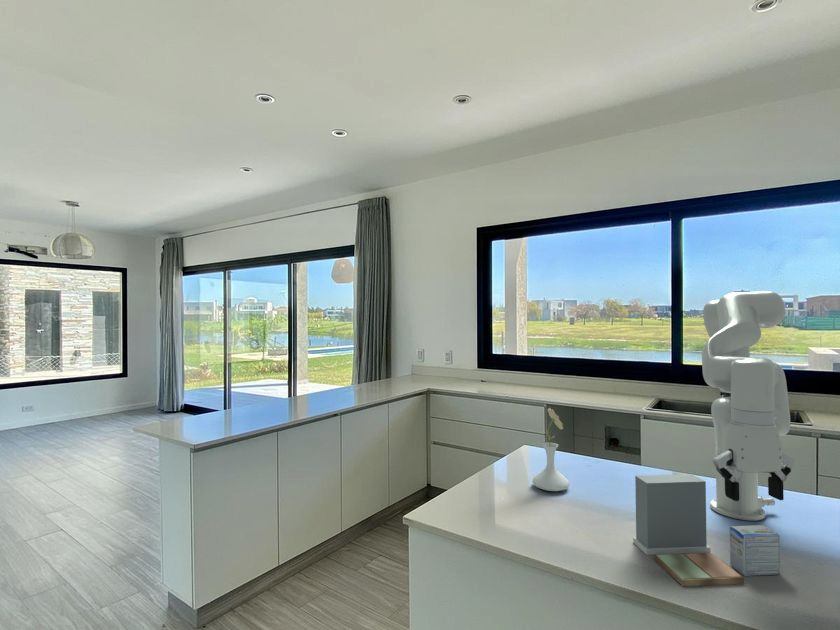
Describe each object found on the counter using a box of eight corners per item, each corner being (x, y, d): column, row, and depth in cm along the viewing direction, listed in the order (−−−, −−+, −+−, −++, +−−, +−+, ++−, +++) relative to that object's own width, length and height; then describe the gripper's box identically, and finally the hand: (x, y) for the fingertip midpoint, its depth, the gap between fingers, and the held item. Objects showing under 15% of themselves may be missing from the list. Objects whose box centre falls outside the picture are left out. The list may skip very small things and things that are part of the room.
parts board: (710, 557, 102) (709, 551, 102) (744, 583, 92) (744, 577, 92) (654, 559, 101) (654, 553, 101) (682, 586, 91) (682, 579, 91)
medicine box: (764, 564, 99) (763, 524, 99) (781, 575, 94) (780, 534, 94) (729, 565, 99) (728, 525, 99) (744, 576, 94) (744, 535, 94)
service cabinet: (693, 539, 110) (692, 473, 110) (710, 552, 104) (709, 482, 104) (633, 542, 109) (632, 475, 109) (646, 555, 103) (645, 484, 103)
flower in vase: (569, 496, 137) (568, 414, 137) (531, 492, 140) (530, 412, 141) (569, 481, 149) (568, 406, 150) (534, 478, 153) (533, 404, 153)
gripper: (776, 413, 101) (778, 491, 100) (701, 414, 100) (703, 492, 99) (806, 420, 93) (808, 504, 93) (726, 421, 92) (728, 506, 92)
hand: (754, 498), depth 96 cm, fingers open, 9 cm apart
